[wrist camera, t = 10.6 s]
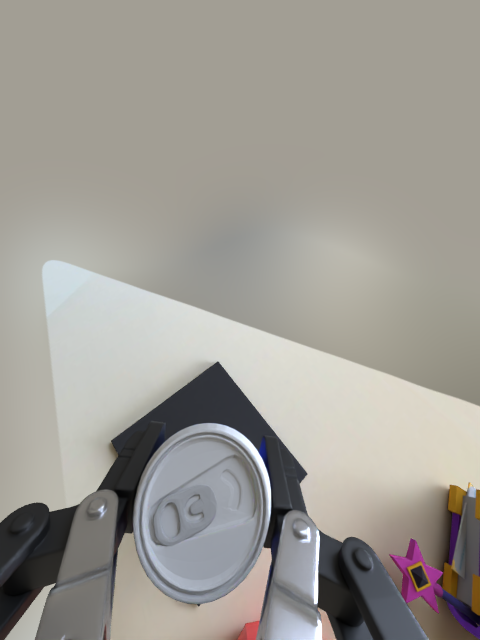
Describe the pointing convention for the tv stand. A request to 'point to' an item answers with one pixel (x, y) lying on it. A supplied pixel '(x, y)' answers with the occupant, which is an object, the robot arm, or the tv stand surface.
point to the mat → (208, 412)
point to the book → (450, 564)
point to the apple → (249, 631)
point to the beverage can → (202, 513)
